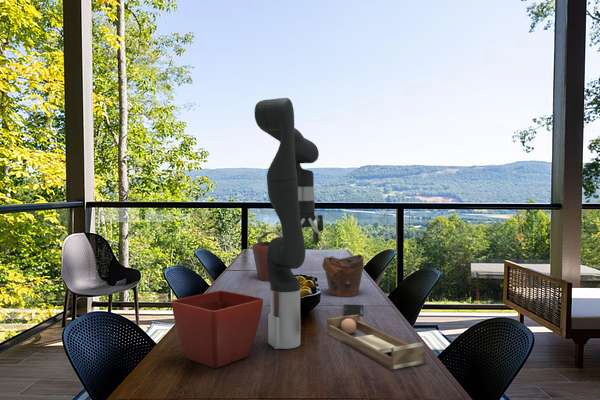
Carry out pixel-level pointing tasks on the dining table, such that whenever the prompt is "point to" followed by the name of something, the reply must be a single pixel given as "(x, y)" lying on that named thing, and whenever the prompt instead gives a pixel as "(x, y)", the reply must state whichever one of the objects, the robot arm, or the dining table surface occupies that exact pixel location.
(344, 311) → the phone
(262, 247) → the bucket
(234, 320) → the plant pot
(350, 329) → the ball
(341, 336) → the track
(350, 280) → the terracotta flower pot
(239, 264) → the dining table surface
